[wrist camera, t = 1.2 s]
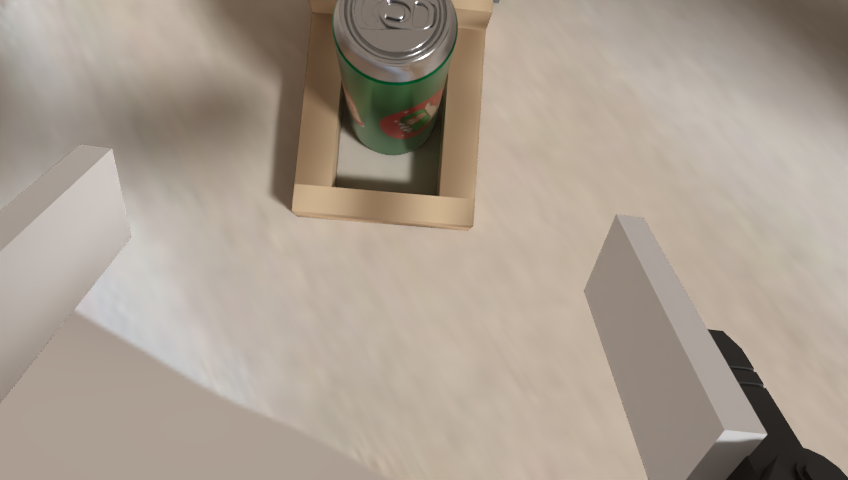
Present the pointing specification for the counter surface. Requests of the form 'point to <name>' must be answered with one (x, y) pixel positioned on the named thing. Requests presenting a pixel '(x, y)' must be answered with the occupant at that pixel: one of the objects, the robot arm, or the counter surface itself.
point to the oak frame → (456, 145)
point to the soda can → (394, 67)
